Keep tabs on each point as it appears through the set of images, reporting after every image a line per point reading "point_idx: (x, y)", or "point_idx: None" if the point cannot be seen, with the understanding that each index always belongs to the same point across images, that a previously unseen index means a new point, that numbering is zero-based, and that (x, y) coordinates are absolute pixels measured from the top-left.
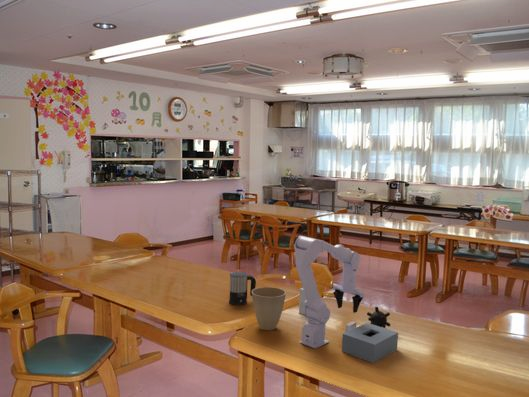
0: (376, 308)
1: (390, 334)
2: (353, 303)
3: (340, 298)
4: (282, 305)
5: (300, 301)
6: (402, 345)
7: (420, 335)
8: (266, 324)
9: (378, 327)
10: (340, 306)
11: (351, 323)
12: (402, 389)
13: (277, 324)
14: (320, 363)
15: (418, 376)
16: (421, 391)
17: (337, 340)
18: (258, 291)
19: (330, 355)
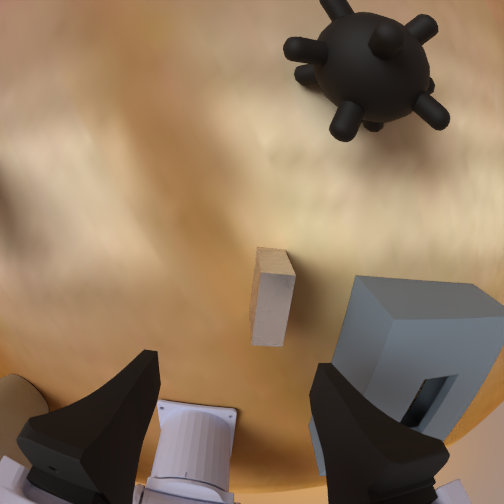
0: (395, 48)
1: (490, 359)
2: (329, 470)
3: (131, 438)
4: (23, 463)
5: None
6: (483, 229)
7: (496, 75)
8: None
9: (454, 334)
10: (156, 378)
11: (274, 311)
12: (459, 435)
13: (36, 400)
14: (289, 482)
15: (495, 380)
16: (485, 416)
17: (250, 375)
18: None
19: (291, 455)
